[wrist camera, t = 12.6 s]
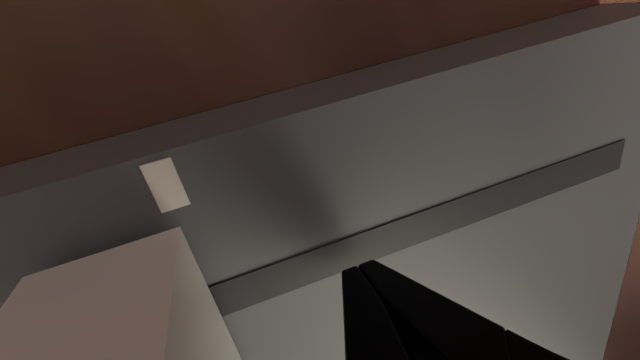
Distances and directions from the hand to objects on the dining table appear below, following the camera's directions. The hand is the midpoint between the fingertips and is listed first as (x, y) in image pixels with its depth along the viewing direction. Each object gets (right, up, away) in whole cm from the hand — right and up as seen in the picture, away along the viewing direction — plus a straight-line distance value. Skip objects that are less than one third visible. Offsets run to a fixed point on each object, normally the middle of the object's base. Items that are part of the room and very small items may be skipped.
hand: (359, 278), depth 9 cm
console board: (+1, -4, +6) cm, 7 cm away
